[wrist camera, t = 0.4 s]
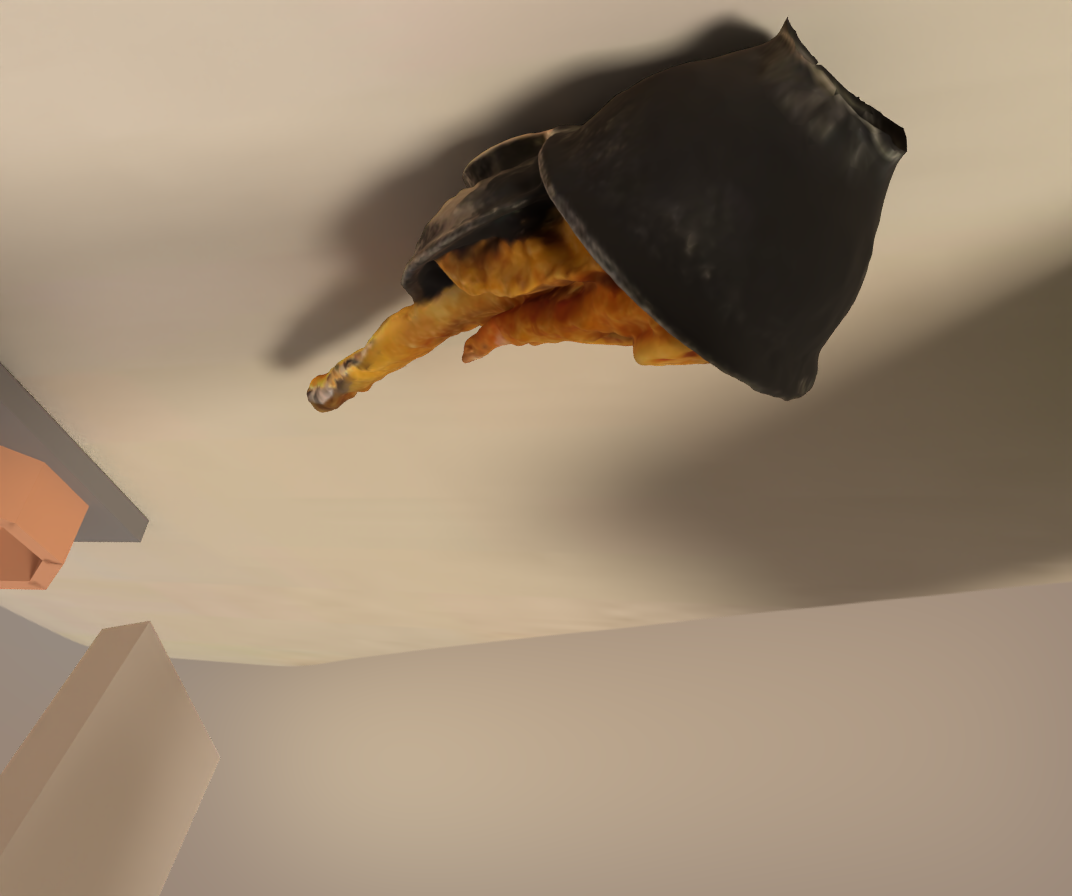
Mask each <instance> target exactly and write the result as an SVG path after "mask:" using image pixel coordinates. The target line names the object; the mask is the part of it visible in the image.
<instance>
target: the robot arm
mask: <svg viewBox="0 0 1072 896" xmlns="http://www.w3.org/2000/svg"><path fill="white" fill-rule="evenodd" d="M219 759H220V756H219V754H218V752H217V750H216V748H215V746H214V744H213V742H212V740H211V738H210V736H209V734H208V732H207V731H206V729H205V727H204V725H203V723H202V721H201V719H200V717H199V715H198V713H197V711H196V709H195V707H194V705H193V703H192V701H191V700H190V697H189V696H188V693H187V692H186V690H185V688H184V686H183V684H182V682H181V680H180V678H179V676H178V674H177V672H176V670H175V668H174V666H173V665H172V663H171V661H170V658H169V657H168V655H167V653H166V651H165V649H164V647H163V645H162V643H161V641H160V639H159V637H158V635H157V633H156V631H155V629H154V627H153V625H152V624H151V622H150V621H146V622H140V623H134V624H128V625H122V626H116V627H111V628H105V629H102V630H101V631H100V633H99V634H98V636H97V637H96V638H95V640H94V641H93V643H92V644H91V646H90V647H89V648H88V650H87V651H86V653H85V655H84V656H83V657H82V659H81V660H80V661H79V663H78V664H77V666H76V667H75V668H74V670H73V671H72V673H71V674H70V676H69V677H68V679H67V680H66V681H65V683H64V684H63V686H62V687H61V689H60V690H59V691H58V693H57V694H56V696H55V697H54V699H53V700H52V701H51V703H50V704H49V706H48V707H47V708H46V710H45V711H44V713H43V714H42V716H41V717H40V718H39V720H38V721H37V723H36V724H35V726H34V727H33V729H32V730H31V731H30V733H29V734H28V736H27V737H26V738H25V740H24V742H23V743H22V744H21V746H20V747H19V748H18V750H17V751H16V753H15V754H14V756H13V757H12V758H11V760H10V761H9V763H8V764H7V766H6V767H5V768H4V770H3V771H2V773H1V774H0V896H159V895H160V893H161V890H162V888H163V886H164V884H165V882H166V879H167V877H168V875H169V872H170V870H171V868H172V866H173V863H174V861H175V859H176V857H177V854H178V852H179V850H180V848H181V845H182V843H183V841H184V839H185V836H186V834H187V832H188V829H189V827H190V825H191V823H192V821H193V818H194V816H195V814H196V811H197V809H198V807H199V805H200V802H201V800H202V798H203V796H204V793H205V791H206V789H207V787H208V784H209V782H210V780H211V777H212V775H213V773H214V771H215V768H216V766H217V764H218V762H219Z"/></svg>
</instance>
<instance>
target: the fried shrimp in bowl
mask: <svg viewBox="0 0 1072 896" xmlns="http://www.w3.org/2000/svg"><path fill="white" fill-rule="evenodd" d="M817 63H818V61H817V60H816V59H815V57H814V56H812V55H811V54H810V52H809V51H808V50H807V48H806V47H805V46H804V45H803V44H802V43H801V41H800V40H799V38H798V36H797V33H796V31H795V30H794V29H793V28H792V26H791V25H790V22H789V20H788V17H787V19H786V21H785V23H784V25H783V27H782V29H781V30H780V32H779V33H778V35H777V36H776V37H774V38H773V39H772V40H770V41H768V42H766V43H763V44H761V45H758V46H755V47H751V48H748V49H743V50H739V51H735V52H732V53H729V54H725V55H722V56H719V57H715V58H711V59H706V60H700V61H694V62H689V63H684V64H681V65H677V66H674V67H671V68H669V69H666V70H664V71H661V72H659V73H656V74H654V75H651V76H649V77H647V78H645V79H643V80H642V81H640V82H638V83H637V84H635V85H634V86H632V87H631V88H629V89H627V90H625V91H623V92H621V93H619V94H618V95H616V96H615V97H614V98H612V99H611V100H610V101H609V102H608V103H607V104H606V105H605V106H604V107H603V108H602V109H601V110H600V111H598V112H597V113H596V114H595V115H594V116H593V117H592V118H591V119H590V120H588V121H587V122H586V123H585V124H584V125H562V126H558V127H556V128H554V129H550V130H547V131H543V132H541V133H535V134H534V133H529V134H524V135H521V136H517V137H514V138H511V139H508V140H506V141H504V142H502V143H499V144H497V145H495V146H493V147H491V148H489V149H487V150H486V151H484V152H482V153H481V154H480V155H478V156H477V157H476V158H474V159H473V160H472V161H471V162H470V163H469V164H468V165H467V166H466V168H465V169H464V172H463V180H464V182H465V184H466V186H467V188H465V189H462V190H461V191H460V192H459V193H458V194H457V195H456V196H455V197H452V198H450V199H449V200H448V201H447V202H446V203H445V204H444V205H443V207H442V208H441V210H440V211H439V212H438V213H437V214H436V215H435V217H434V218H433V219H432V220H431V221H430V222H429V223H428V224H427V225H426V227H425V228H424V231H423V233H422V236H421V238H420V240H419V242H418V243H417V245H416V250H415V253H414V256H413V257H412V258H411V259H410V261H409V262H408V263H407V265H406V268H405V270H404V273H403V276H402V279H401V285H402V286H403V288H404V289H405V290H406V291H407V292H408V293H409V294H410V295H411V296H412V298H413V301H414V304H413V305H412V306H408V307H405V308H403V309H401V310H400V311H399V312H397V313H395V314H393V315H391V316H390V317H388V318H387V319H386V320H385V321H384V322H383V323H382V325H381V326H380V327H379V329H378V330H377V331H376V332H375V333H374V334H373V336H372V338H371V339H370V340H369V341H368V342H367V344H366V346H365V347H364V348H361V349H359V350H357V351H356V352H354V353H353V354H351V355H349V356H348V357H346V358H345V359H343V360H341V361H340V362H338V363H337V364H336V366H335V367H333V368H332V369H331V370H330V372H328V373H327V374H324V375H318V376H317V377H315V378H314V379H313V380H312V381H311V383H310V386H309V388H308V391H307V397H308V401H309V402H310V403H311V404H312V405H313V407H314V408H315V409H316V410H317V411H319V412H322V413H323V412H328V411H332V410H334V409H337V408H338V407H339V406H340V405H341V404H343V403H344V402H345V401H347V400H348V399H351V398H353V397H355V395H356V394H357V392H365V391H368V390H369V389H370V388H371V386H372V384H373V383H374V382H376V381H378V380H381V379H382V378H384V377H385V376H386V375H387V374H389V373H391V372H394V371H396V370H398V369H400V368H402V367H404V366H406V364H408V363H410V362H411V361H412V360H414V359H416V358H419V357H422V356H424V355H426V354H427V353H429V352H430V351H432V350H433V349H434V348H435V347H436V346H438V345H439V344H441V343H442V342H443V341H445V340H446V339H447V338H449V337H451V336H454V335H457V334H459V333H460V332H465V331H469V330H472V329H474V328H476V327H477V326H479V325H480V326H482V327H481V328H480V329H479V330H478V332H477V333H476V334H475V335H473V336H471V337H470V338H469V339H468V340H467V341H466V343H465V346H464V353H463V356H462V361H463V362H464V363H468V362H471V361H474V360H477V359H480V358H482V357H483V356H485V355H487V354H488V353H489V352H490V351H492V350H493V349H495V348H496V347H499V346H502V345H507V344H513V345H516V346H522V345H525V344H527V343H529V344H531V345H534V346H536V345H540V344H543V343H559V342H562V341H573V342H578V343H586V344H605V345H621V346H633V354H634V358H635V360H636V362H637V363H638V364H640V365H654V366H664V365H687V364H706V363H711V364H712V365H714V366H716V367H717V368H718V369H719V370H721V371H722V372H724V373H726V374H728V375H730V376H732V377H734V378H736V379H738V380H740V381H742V382H744V383H745V384H747V385H749V386H750V387H751V388H752V389H753V390H755V391H757V392H760V393H763V394H767V395H770V396H773V397H778V398H782V399H783V400H785V401H789V400H792V399H796V398H800V397H802V396H803V395H804V394H806V392H808V391H809V390H810V389H811V388H812V386H813V384H814V381H815V378H816V375H817V371H818V357H819V353H820V351H821V348H822V347H823V346H824V344H825V343H826V342H827V340H828V339H829V337H830V336H831V334H832V333H833V332H834V330H835V329H836V328H837V326H838V325H839V324H840V322H841V321H842V319H843V318H844V317H845V316H846V314H847V313H848V311H849V310H850V308H851V306H852V305H853V303H854V301H855V300H856V297H857V295H858V293H859V291H860V288H861V286H862V283H863V281H864V278H865V275H866V272H867V269H868V264H869V261H870V259H871V256H872V251H873V243H874V238H875V234H876V231H877V228H878V225H879V222H880V216H881V211H882V207H883V203H884V199H885V195H886V192H887V189H888V186H889V183H890V180H891V177H892V175H893V172H894V170H895V168H896V165H897V163H898V162H899V160H900V159H901V158H902V156H903V155H904V154H905V153H906V152H907V139H906V135H905V132H904V128H902V127H900V126H898V125H897V124H895V123H894V122H893V121H891V120H890V119H888V118H886V117H885V116H883V115H882V113H881V112H879V111H877V110H876V109H874V108H873V107H872V106H870V105H867V104H866V103H865V102H863V101H861V100H860V99H859V97H855V95H854V94H852V93H850V92H849V91H848V90H847V89H845V88H844V87H843V86H842V85H841V84H840V83H839V82H838V81H837V80H836V79H835V78H834V77H833V76H832V74H830V73H829V72H828V71H827V70H826V69H825V68H824V67H823V66H822V65H816V64H817Z"/></svg>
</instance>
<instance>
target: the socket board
mask: <svg viewBox="0 0 1072 896" xmlns="http://www.w3.org/2000/svg"><path fill="white" fill-rule="evenodd" d="M148 522H149V520H148V519H147V518H146V517H145V516H144V515H143V514H142V513H141V512H140V511H139V510H138V509H137V507H136V506H135V505H134V504H133V503H132V502H131V501H130V500H129V499H128V498H127V497H126V496H125V495H124V494H123V493H122V492H121V491H120V489H119V488H118V487H117V486H116V485H115V484H114V483H113V482H112V481H111V480H110V479H109V478H108V477H107V476H106V475H105V474H104V473H103V471H102V470H101V469H100V468H99V467H98V466H97V465H96V464H95V463H94V462H93V461H92V460H91V459H90V458H89V457H88V456H87V454H86V453H85V452H84V451H83V450H82V449H81V448H80V447H79V446H78V445H77V444H76V443H75V442H74V441H73V440H72V439H71V438H70V436H69V435H68V434H67V433H66V432H65V431H64V430H63V429H62V428H61V427H60V426H59V425H58V424H57V423H56V422H55V421H54V420H53V418H52V417H51V416H50V415H49V414H48V413H47V412H46V411H45V410H44V409H43V408H42V407H41V406H40V405H39V404H38V403H37V401H36V400H35V399H34V398H33V397H32V396H31V395H30V394H29V393H28V392H27V391H26V390H25V389H24V388H23V387H22V386H21V385H20V383H19V382H18V381H17V380H16V379H15V378H14V377H13V376H12V375H11V374H10V373H9V372H8V371H7V370H6V369H5V368H4V367H3V365H2V364H1V363H0V589H39V590H46V589H47V587H48V586H49V585H50V583H51V582H52V580H53V579H54V577H55V576H56V574H57V573H58V571H59V570H60V569H61V567H62V566H63V564H64V562H65V560H66V557H67V555H68V553H69V551H70V548H71V546H72V544H73V542H141V540H142V537H143V535H144V532H145V529H146V527H147V524H148Z"/></svg>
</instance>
